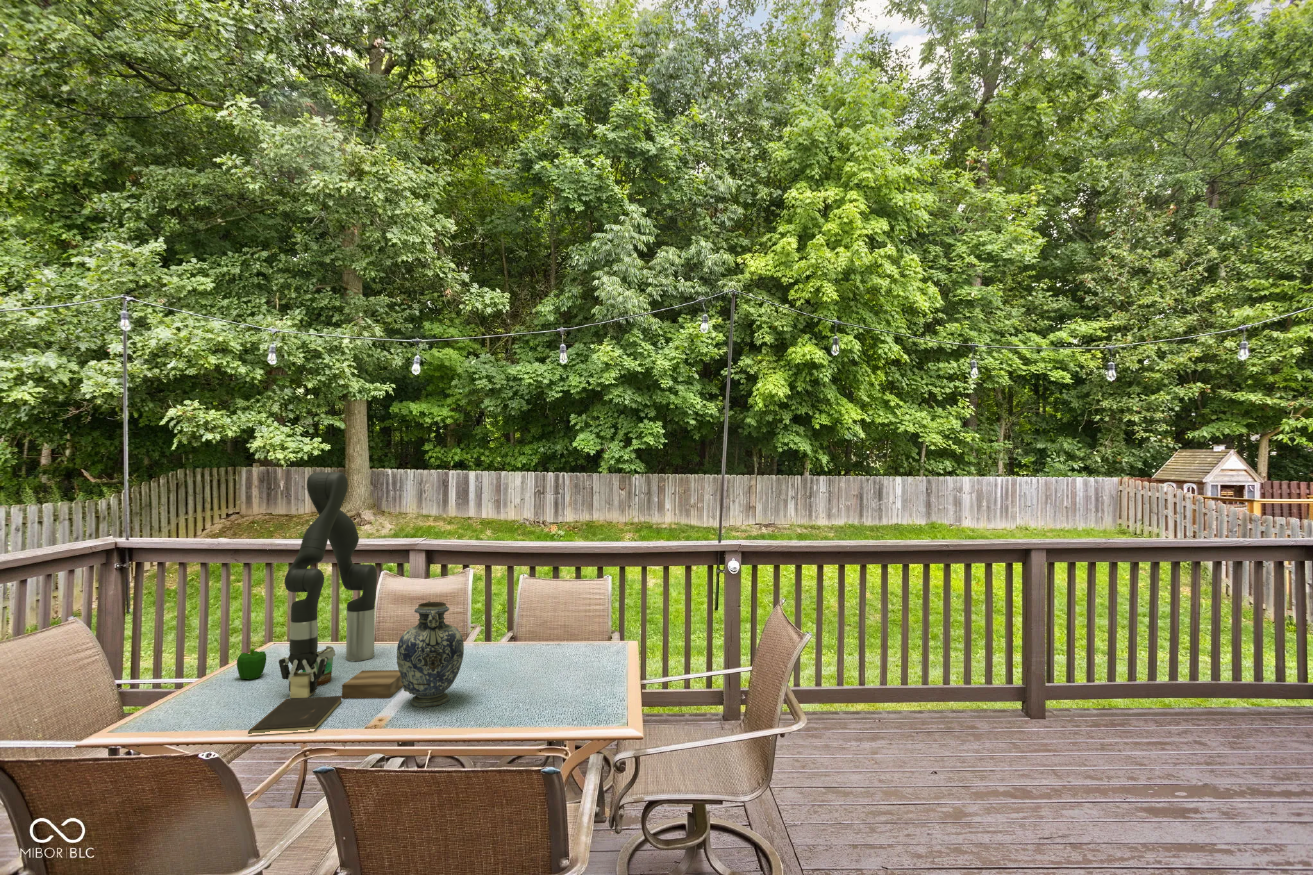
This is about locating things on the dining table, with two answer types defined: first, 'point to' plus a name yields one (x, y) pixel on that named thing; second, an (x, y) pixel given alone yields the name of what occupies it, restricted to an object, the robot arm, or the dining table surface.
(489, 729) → the dining table surface
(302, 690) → the maple block
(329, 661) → the half round tub
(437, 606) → the decorative vase
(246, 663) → the bell pepper
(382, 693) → the block
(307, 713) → the hardcover book
